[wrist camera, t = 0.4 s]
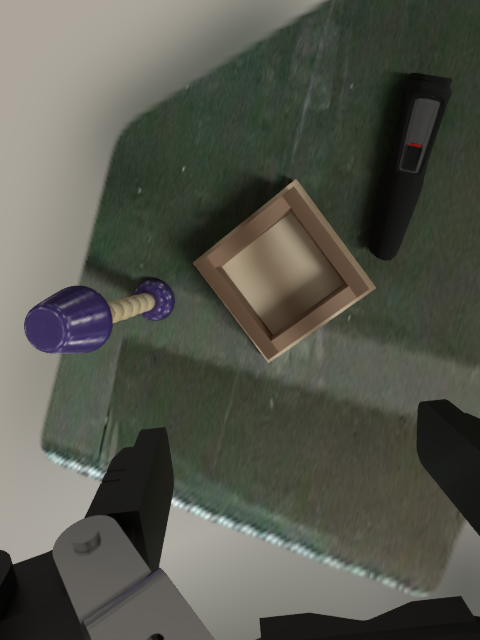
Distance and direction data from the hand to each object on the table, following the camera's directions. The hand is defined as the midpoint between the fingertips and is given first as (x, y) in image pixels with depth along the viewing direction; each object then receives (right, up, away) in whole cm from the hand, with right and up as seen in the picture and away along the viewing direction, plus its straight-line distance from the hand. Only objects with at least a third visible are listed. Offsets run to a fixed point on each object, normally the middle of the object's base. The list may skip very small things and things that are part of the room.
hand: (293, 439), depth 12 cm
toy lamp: (-11, +6, +27) cm, 29 cm away
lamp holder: (+2, +8, +24) cm, 26 cm away
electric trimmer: (+13, +17, +22) cm, 31 cm away
